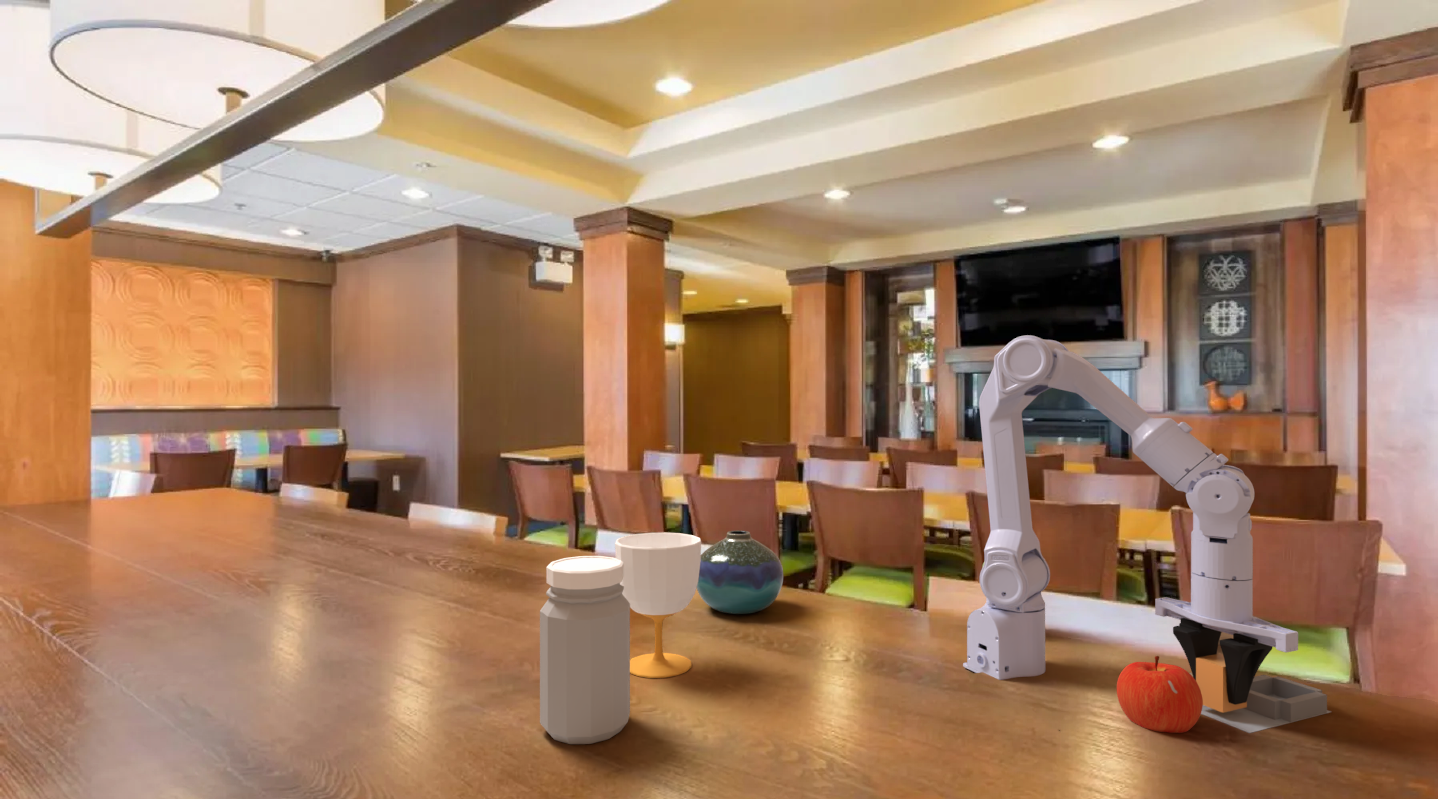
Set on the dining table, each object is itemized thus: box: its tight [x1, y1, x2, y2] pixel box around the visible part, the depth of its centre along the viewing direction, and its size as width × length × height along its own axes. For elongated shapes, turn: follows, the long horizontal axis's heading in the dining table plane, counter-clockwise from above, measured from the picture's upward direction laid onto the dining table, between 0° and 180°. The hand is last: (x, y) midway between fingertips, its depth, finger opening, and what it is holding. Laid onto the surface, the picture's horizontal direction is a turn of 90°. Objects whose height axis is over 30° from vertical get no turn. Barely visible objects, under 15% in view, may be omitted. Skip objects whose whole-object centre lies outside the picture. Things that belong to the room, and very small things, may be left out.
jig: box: [1189, 672, 1332, 734], centre depth 86 cm, size 14×14×3 cm
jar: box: [539, 555, 631, 745], centre depth 80 cm, size 10×10×18 cm
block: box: [1196, 654, 1247, 713], centre depth 82 cm, size 4×3×5 cm
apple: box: [1116, 655, 1203, 734], centre depth 80 cm, size 8×8×8 cm
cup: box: [614, 532, 702, 679], centre depth 99 cm, size 12×12×17 cm
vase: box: [696, 530, 784, 615], centre depth 126 cm, size 15×15×13 cm
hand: (1221, 696), depth 82 cm, fingers closed on block, 3 cm apart
